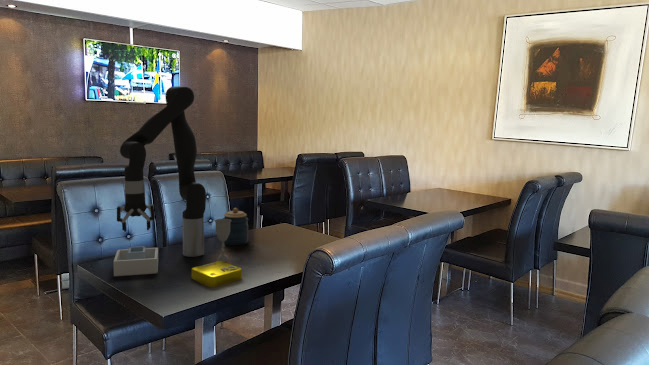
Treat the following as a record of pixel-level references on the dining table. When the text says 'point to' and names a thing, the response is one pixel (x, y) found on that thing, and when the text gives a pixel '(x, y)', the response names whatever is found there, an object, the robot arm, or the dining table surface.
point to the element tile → (216, 273)
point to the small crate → (136, 253)
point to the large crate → (135, 263)
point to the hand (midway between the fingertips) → (136, 230)
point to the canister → (237, 227)
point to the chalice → (223, 235)
